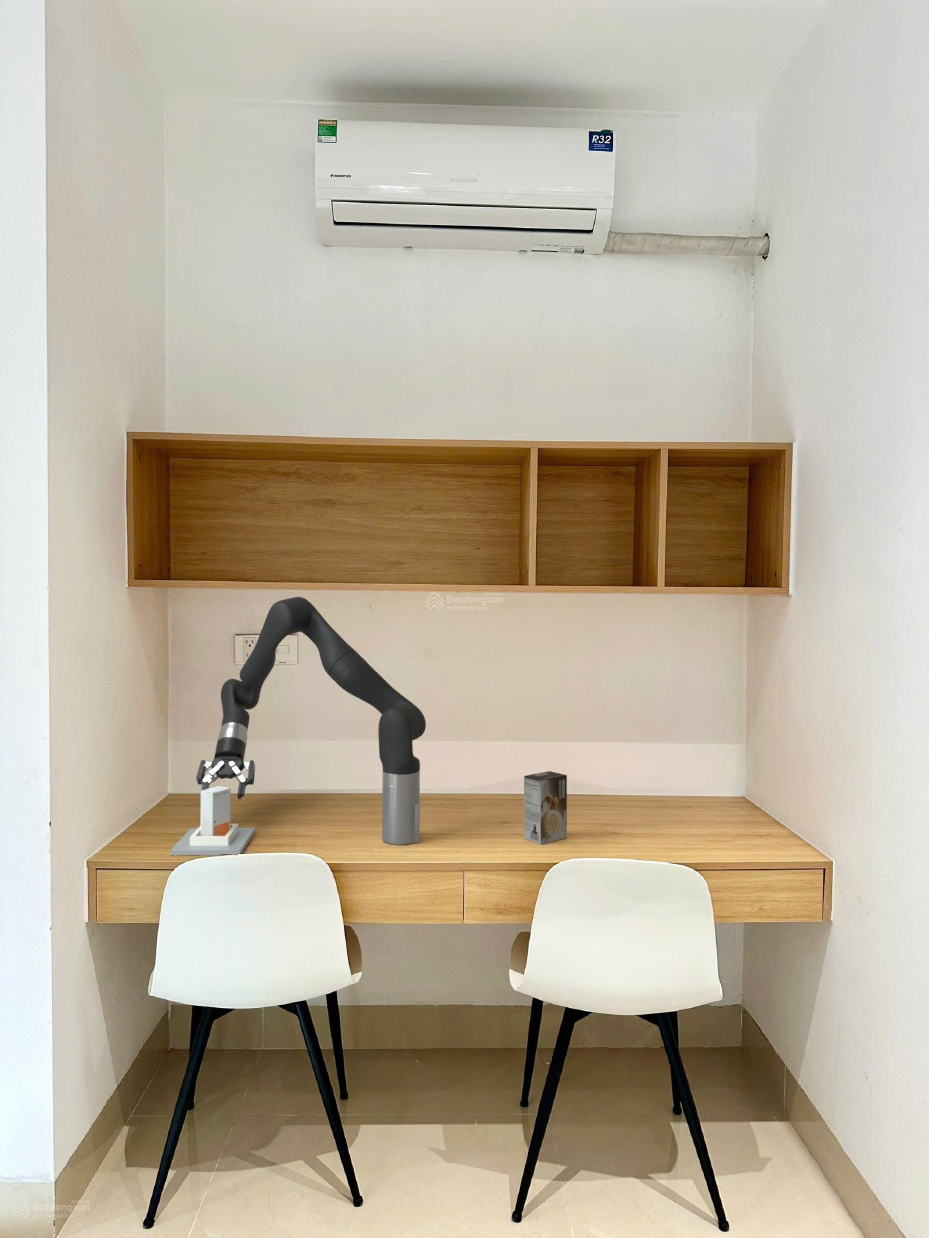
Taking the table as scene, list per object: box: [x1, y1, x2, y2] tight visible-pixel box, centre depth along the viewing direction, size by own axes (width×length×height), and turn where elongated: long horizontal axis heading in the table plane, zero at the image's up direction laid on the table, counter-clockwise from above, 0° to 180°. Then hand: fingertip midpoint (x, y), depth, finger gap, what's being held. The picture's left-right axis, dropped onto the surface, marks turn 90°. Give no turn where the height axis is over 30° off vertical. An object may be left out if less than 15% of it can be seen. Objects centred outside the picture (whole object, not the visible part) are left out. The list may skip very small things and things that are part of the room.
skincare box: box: [199, 785, 232, 836], centre depth 206 cm, size 6×4×12 cm
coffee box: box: [523, 770, 568, 845], centre depth 212 cm, size 9×6×16 cm
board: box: [169, 823, 256, 857], centre depth 206 cm, size 16×18×3 cm
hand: (222, 797), depth 215 cm, fingers open, 8 cm apart
